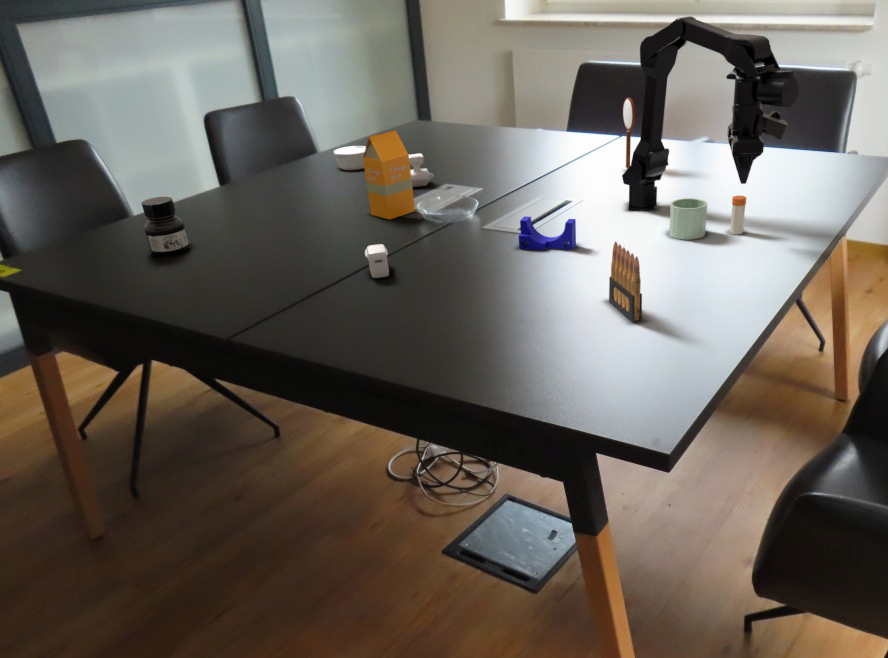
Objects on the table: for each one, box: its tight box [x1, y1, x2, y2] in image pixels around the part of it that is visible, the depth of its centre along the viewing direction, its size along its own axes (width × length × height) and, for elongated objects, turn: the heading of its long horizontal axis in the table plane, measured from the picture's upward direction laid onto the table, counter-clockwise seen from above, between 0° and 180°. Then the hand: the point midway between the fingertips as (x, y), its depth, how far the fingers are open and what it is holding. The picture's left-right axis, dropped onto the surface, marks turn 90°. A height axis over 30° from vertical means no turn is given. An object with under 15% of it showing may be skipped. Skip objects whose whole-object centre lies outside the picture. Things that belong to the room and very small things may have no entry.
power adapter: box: [364, 243, 390, 279], centre depth 176 cm, size 11×5×6 cm, turn 13°
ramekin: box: [333, 145, 366, 171], centre depth 257 cm, size 11×11×5 cm
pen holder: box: [668, 197, 708, 241], centre depth 185 cm, size 8×8×7 cm
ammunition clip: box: [608, 240, 643, 323], centre depth 149 cm, size 11×2×12 cm, turn 18°
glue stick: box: [729, 195, 747, 235], centre depth 184 cm, size 3×3×8 cm
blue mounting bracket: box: [518, 216, 577, 251], centre depth 183 cm, size 12×4×6 cm, turn 71°
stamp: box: [408, 153, 435, 188], centre depth 233 cm, size 9×7×8 cm
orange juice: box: [363, 129, 416, 220], centre depth 208 cm, size 8×9×20 cm
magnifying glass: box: [622, 96, 636, 170], centre depth 231 cm, size 9×2×20 cm, turn 12°
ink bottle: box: [140, 196, 190, 257], centre depth 194 cm, size 10×9×12 cm
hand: (741, 178), depth 180 cm, fingers open, 9 cm apart
